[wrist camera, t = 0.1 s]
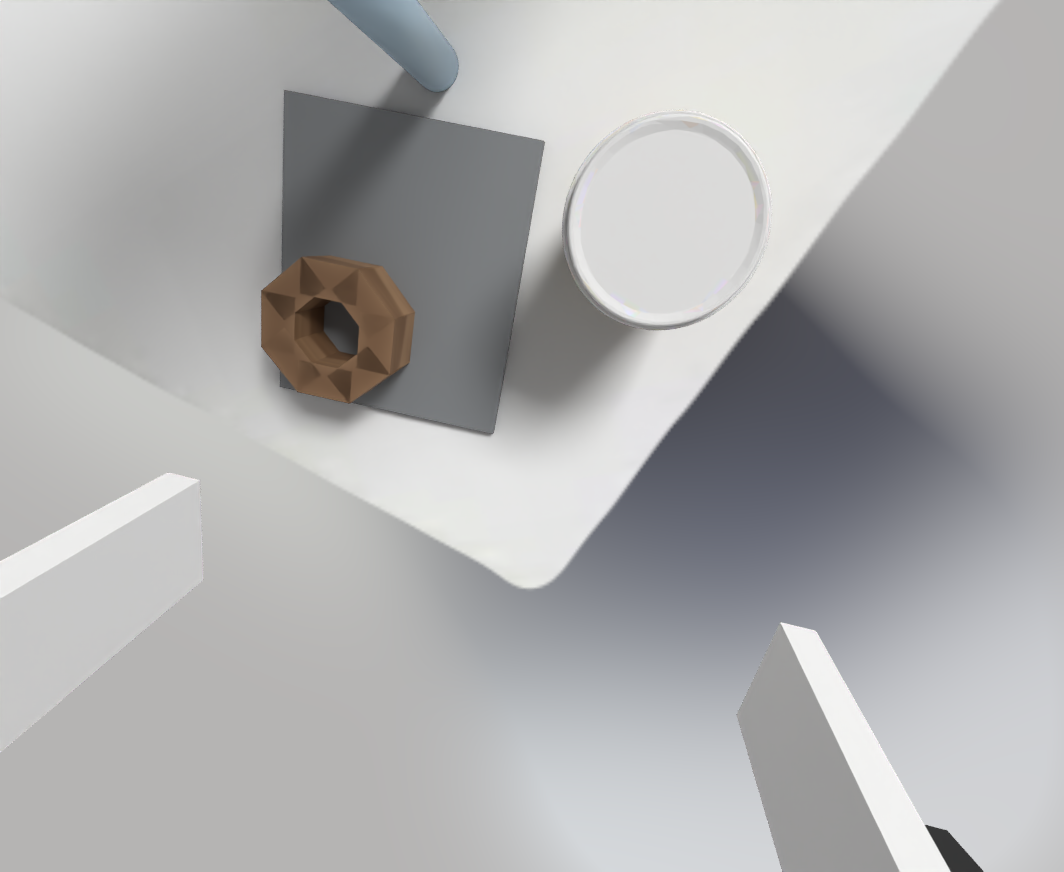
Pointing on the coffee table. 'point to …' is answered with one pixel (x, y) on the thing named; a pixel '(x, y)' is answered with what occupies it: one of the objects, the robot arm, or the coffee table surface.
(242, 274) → the coffee table surface
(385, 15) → the blue rounded-end rod
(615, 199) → the coffee cup
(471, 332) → the mat
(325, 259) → the bead
